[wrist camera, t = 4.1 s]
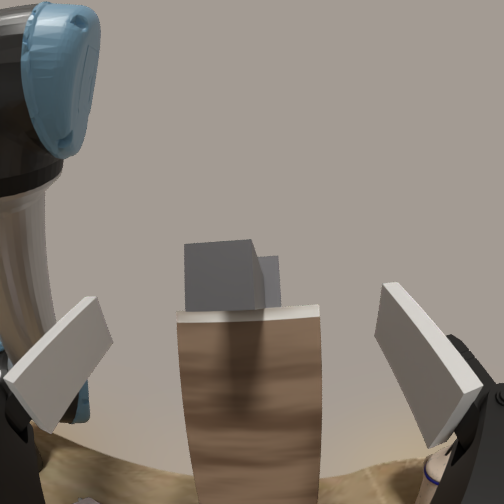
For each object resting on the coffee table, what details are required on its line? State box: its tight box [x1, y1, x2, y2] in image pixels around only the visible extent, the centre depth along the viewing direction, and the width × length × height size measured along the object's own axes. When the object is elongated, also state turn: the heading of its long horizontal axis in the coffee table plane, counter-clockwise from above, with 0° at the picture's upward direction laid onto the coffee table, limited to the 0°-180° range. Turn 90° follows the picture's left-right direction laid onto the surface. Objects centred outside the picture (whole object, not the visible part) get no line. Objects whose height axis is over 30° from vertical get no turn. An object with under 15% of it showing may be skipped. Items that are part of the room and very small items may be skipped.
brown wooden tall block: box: [176, 305, 322, 504], centre depth 24 cm, size 10×12×30 cm
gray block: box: [184, 239, 281, 312], centre depth 22 cm, size 21×6×5 cm, turn 175°
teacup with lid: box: [415, 445, 451, 504], centre depth 17 cm, size 12×9×12 cm
